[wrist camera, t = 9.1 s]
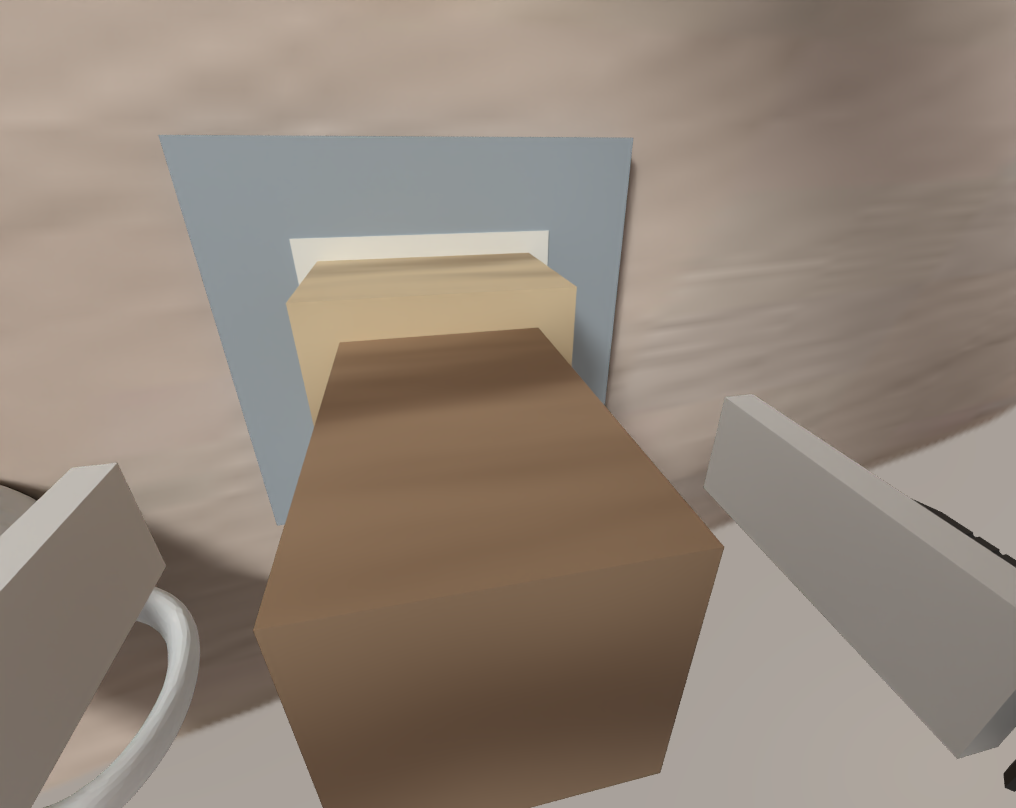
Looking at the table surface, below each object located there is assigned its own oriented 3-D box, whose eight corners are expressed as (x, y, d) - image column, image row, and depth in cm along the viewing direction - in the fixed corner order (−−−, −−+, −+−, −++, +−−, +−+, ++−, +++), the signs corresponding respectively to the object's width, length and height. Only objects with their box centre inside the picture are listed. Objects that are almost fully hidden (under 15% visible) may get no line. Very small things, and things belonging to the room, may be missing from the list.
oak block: (317, 261, 15) (285, 302, 11) (528, 252, 16) (576, 286, 12) (351, 445, 18) (338, 534, 14) (525, 425, 20) (562, 501, 15)
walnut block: (339, 342, 11) (253, 630, 4) (538, 327, 12) (724, 547, 5) (368, 504, 14) (342, 857, 7) (534, 481, 15) (660, 772, 8)
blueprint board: (173, 136, 14) (157, 134, 13) (620, 138, 16) (634, 137, 15) (282, 509, 20) (276, 526, 19) (588, 469, 23) (597, 482, 22)
